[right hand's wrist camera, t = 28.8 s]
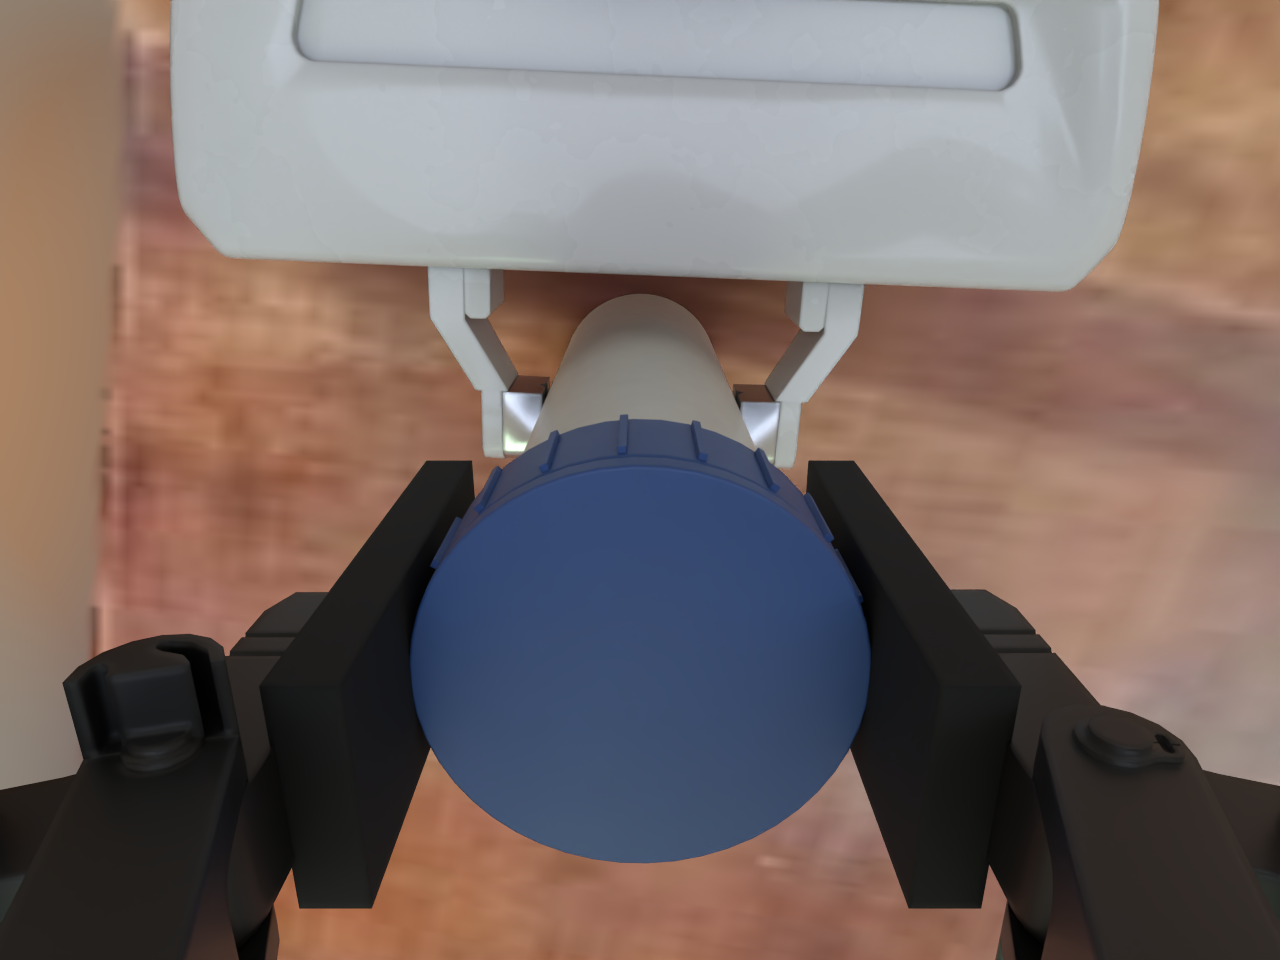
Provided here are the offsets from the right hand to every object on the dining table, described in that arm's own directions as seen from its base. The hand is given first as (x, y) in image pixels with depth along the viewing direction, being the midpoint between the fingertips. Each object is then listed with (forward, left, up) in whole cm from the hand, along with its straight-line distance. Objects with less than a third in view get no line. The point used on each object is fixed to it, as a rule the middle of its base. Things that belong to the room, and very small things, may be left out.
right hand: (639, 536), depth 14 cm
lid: (0, 0, +4) cm, 4 cm away
